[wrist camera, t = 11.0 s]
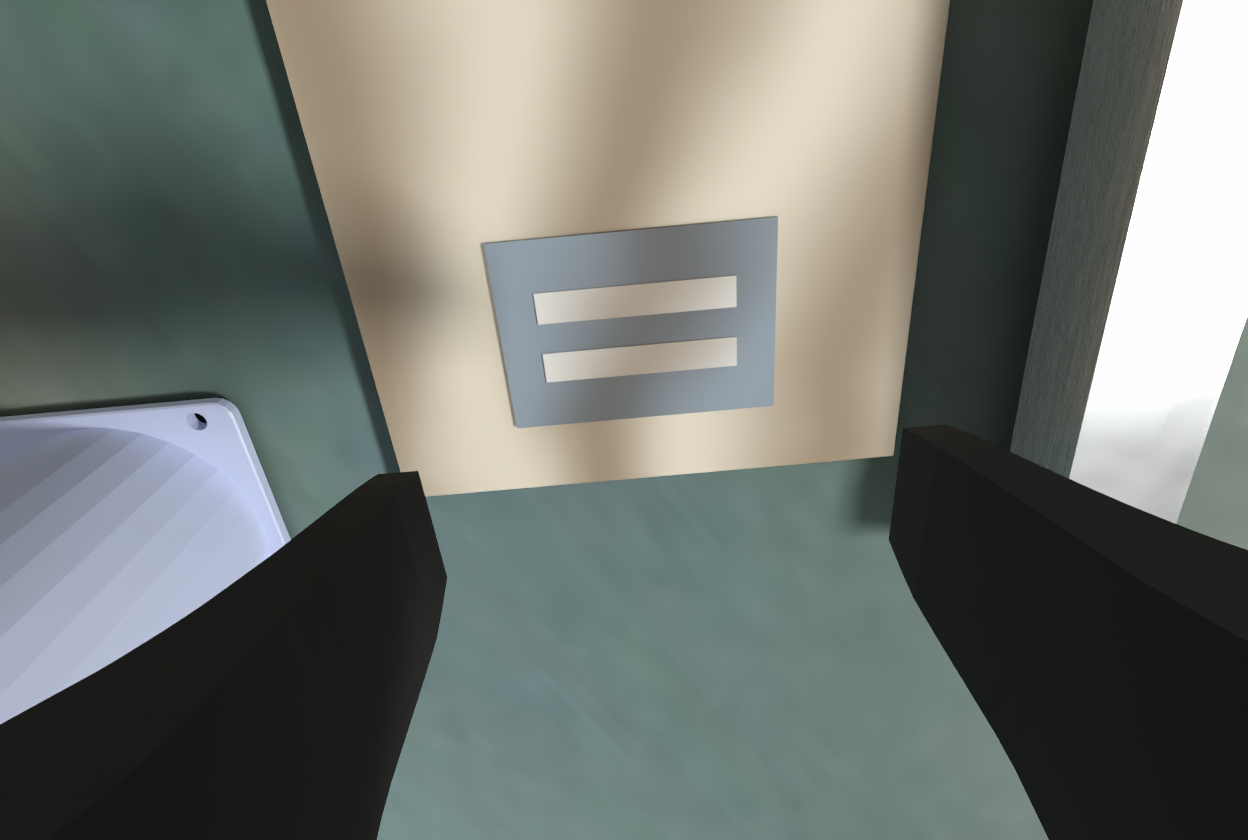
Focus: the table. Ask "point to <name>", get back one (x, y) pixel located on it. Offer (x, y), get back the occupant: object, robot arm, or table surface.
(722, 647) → the table surface
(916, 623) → the table surface
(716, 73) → the label board
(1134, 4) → the light grey long piece
